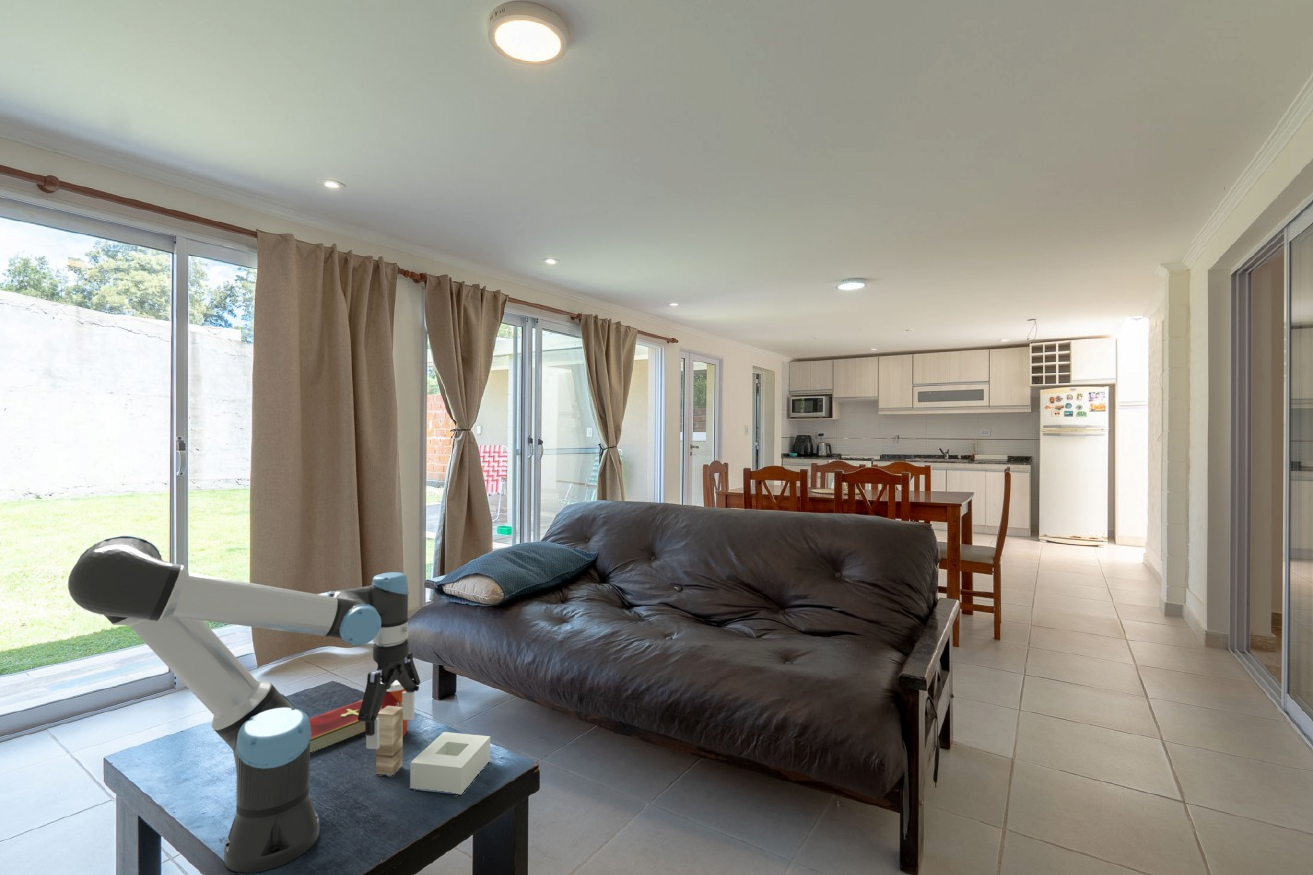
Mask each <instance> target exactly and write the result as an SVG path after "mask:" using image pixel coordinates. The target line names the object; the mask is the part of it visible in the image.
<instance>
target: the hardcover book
mask: <svg viewBox="0 0 1313 875" xmlns="http://www.w3.org/2000/svg"><path fill="white" fill-rule="evenodd" d="M362 701H363V699H361V700H358V701H355V702H352V703H350V704H346V705H344V706H340V707H338V708H335V709H333V710H330V711H326V712H324V713H321V714H319V715H318V714H317V715H316V716H312V717H310V718H309V721H310V727H311V739H310V752H312V751H314V752H317V751H318V749H319V750H321V748H322V749H324V748H326V747H329V746H331V745H334V744H336V743H339V742H341V741H344V740H346V739H348V738H351V737H354V736H357V735H359V734H361V733H364V732H365V721H358V716H359V712H360V708H361V704H362ZM381 710H382V707H380V710H379V711H381ZM372 715H373V714H372ZM316 750H317V751H316ZM312 753H313V752H312Z"/></svg>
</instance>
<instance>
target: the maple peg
mask: <svg viewBox="0 0 1313 875" xmlns="http://www.w3.org/2000/svg"><path fill="white" fill-rule="evenodd" d="M381 709H382V708H381ZM377 718H379V748H378V749H375V756H376V757H375V759H376V760H375V775H376V774H390V775H392V774H394V773H395V772H396V771H397V770H398V769H399V768H400V767H401V766H402V767H403V749H404V747H403V740H404V739H403V737H404V736H403V707H396V706H386V707H385V708H383V709H382V710H381V711H379V713H378V715H377ZM395 774H396V773H395ZM395 774H394V775H395Z"/></svg>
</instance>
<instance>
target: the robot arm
mask: <svg viewBox="0 0 1313 875" xmlns="http://www.w3.org/2000/svg"><path fill="white" fill-rule="evenodd" d="M408 580H409V579H408V576H407V575H406V574H405V573H403V572H398V571H395V572H394V571H393V572H391V571H390V572H384V573H383V572H382V573H381V574H380V573H379V574H377V575H374V576H373V578H372V582H371V585H366V586H359V587H354V588H346V589H340V590H329V591H327V592H321V593H312V592H307V591H306V592H305V591H299V590H295V589H294V590H293V589H288V588H281V587H275V586H271V585H265V584H258V583H253V582H248V581H242V580H236V579H230V578H224V577H217V576H212V575H206V574H202V573H201V574H200V573H195V572H189V571H188V570H187V568H186V567H185V566H184V565H183V564H179V563H173V562H168V561H165V560H163V559H162V554H160V550H159V549H158V548H157V546H156V545H154V544H153V543H152V542H150V541H148V540H147V539H144V538H141V537H138V536H133V535H118V536H113V537H109V538H105V539H103V540H101V541H99V542H96V543H95V544H93V545H92V546H90V547H88V548H87V549H86V550H85V551H84V552H83V553H82V554H81V555H80V556H79V558H78V560H77V562H76V563H75V564H74V566H73V567H72V569H71V571H70V573H69V576H68V581H67V587H68V588H67V589H68V592H69V595H70V597H71V598H72V600H73V602H75V603H76V605H78V606H79V607H81V608H82V609H83V610H85V611H88V612H91V613H92V614H93V613H94V614H98V615H101V616H104V617H105V618H106V619H107V620H108V621H109V622H110V623H111V624H112V625H114V626H129V627H130V628H131V629H132V631H134V632H135V633H136V635H137V636H139V638H140V639H141V640H142V641H143V642H144V643H145V644H146V645H147V646H148V647H149V649H151V651H153V652H154V654H155V655H156V656H158V658H159V659H160V660H161V661H162V662H163V663H164V664H165V665H166V666H167V667H168V668H169V669H170V670H171V671H172V673H174V675H175V676H176V677H177V678H178V679H179V680H180V681H181V682H182V683H183V684H184V686H186V688H188V689H189V690H190V691H191V692H192V694H193V695H194V696H195V697H196V698H197V699H198V700H199V701H200V702H201V703H202V704H203V705H204V706H205V707H206V709H208V711H210V713H211V714H212V715H213V718H212V721H211V728H212V730H214V732H216V734H217V735H218V736H219V738H221V739H222V740H223V741H224V742H225V743H226V744H227V745H228V747H230V749H231V750H232V752H233V759H234V764H235V770H236V772H235V773H236V799H235V800H236V803H235V804H236V806H235V808H236V809H235V815H234V819H233V822H232V824H231V827H230V828H229V829H230V830H229V833H228V836H227V839H226V840H225V842H224V843H225V844H224V849H223V863H224V866H225V867H226V868H227V869H229V870H230V871H233V872H236V873H242V874H243V873H244V874H249V873H251V874H252V873H253V874H254V873H259V872H265V871H268V870H272V869H275V868H278V867H281V866H283V865H285V864H288V863H290V862H292V861H294V860H295V859H297V858H299V857H300V856H302V855H304V854H305V853H306V852H308V851H309V850H310V849H311V848H312V847H313V846H314V844H315V843H316V842H317V840H318V838H319V835H320V818H319V814H318V813H317V812H316V811H315V806H314V803H313V800H312V797H311V795H310V776H311V774H310V772H311V770H310V768H311V767H310V766H311V756H310V754H311V753H310V739H311V727H310V721H309V719H310V718H309V716H308V715H307V714H306V712H304V711H303V710H301V709H297V708H296V707H295V705H294V702H292V701H291V700H290V698H289V697H287V696H285V694H282V693H281V692H279V690H278V689H277V688H276V687H275V686H274V684H272V682H270V681H269V680H257V679H256V678H255V677H254V676H253V675H252V673H250V671H249V670H248V669H247V667H245V666H244V665H243V664H242V662H241V661H240V660H239V659H238V657H236V656H235V655H234V653H233V652H232V651H231V650H230V648H228V647H227V645H226V644H225V643H224V642H223V641H222V640H221V639H220V637H219V636H218V635H217V634H216V633H215V632H214V631H213V630H212V629H211V627H209V625H207V623H206V622H214V623H221V624H228V625H235V626H242V627H243V626H245V627H250V628H259V629H265V630H266V629H267V630H274V631H281V632H282V631H283V632H288V633H297V634H303V635H311V636H320V637H327V638H333V639H340V640H343V641H344V642H346V644H347V643H348V644H350V645H352V646H364V645H366V644H368V643H370V642H373V643H374V644H373V645H372V659H373V661H374V662H375V663H376V664H377V668H376V671H368V673H367V678H366V686H365V690H364V693H363V698H362V700H363V701H362V704H361V708H360V712H359V716H358V721H365V731H364V732H365V733H364V734H365V749H368V750H370V749H371V750H376V749H378V748H379V718H377V715H378V713H379V710H380V708H382V707H381V705H382V702H383V699H384V697H385V694H386V691H387V690H388V689H389V688H390V686H391V684H392V683H393V682H394V681H396V680H397V681H398V682H399V683H400V684H401V686H402V687H403V688H404V690H406V691H404V692H402V707H403V719H404V720H408V721H414V720H415V692H418V691H419V689H420V685H421V680H420V676H419V674H418V670H417V668H416V666H415V663H414V658H413V656H414V655H413V652H411V651H409V648H410V647H409V640H408V638H409V631H410V630H409V628H410V627H409V594H410V591H409V582H408ZM205 621H206V622H205ZM381 682H382V683H383V684H381ZM372 714H373V715H372Z"/></svg>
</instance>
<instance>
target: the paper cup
mask: <svg viewBox="0 0 1313 875" xmlns="http://www.w3.org/2000/svg"><path fill="white" fill-rule="evenodd" d="M380 684H383V683H382V682H381V681H380ZM404 691H406V690H404V688H403V687H402V686H401V684H400V683H399V682H398V681H397V680H396V681H394V682H393V683H392V684H391V686H390V688H389V689H388V690H387V691H386V694H385V697H384V699H383V702H382V705H381V707H380V708H381V709H383V708H385V707H386V706H396V707H402V692H404ZM408 722H409V720H404V719H403V737H405V735H406V734H407V731H408Z"/></svg>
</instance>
